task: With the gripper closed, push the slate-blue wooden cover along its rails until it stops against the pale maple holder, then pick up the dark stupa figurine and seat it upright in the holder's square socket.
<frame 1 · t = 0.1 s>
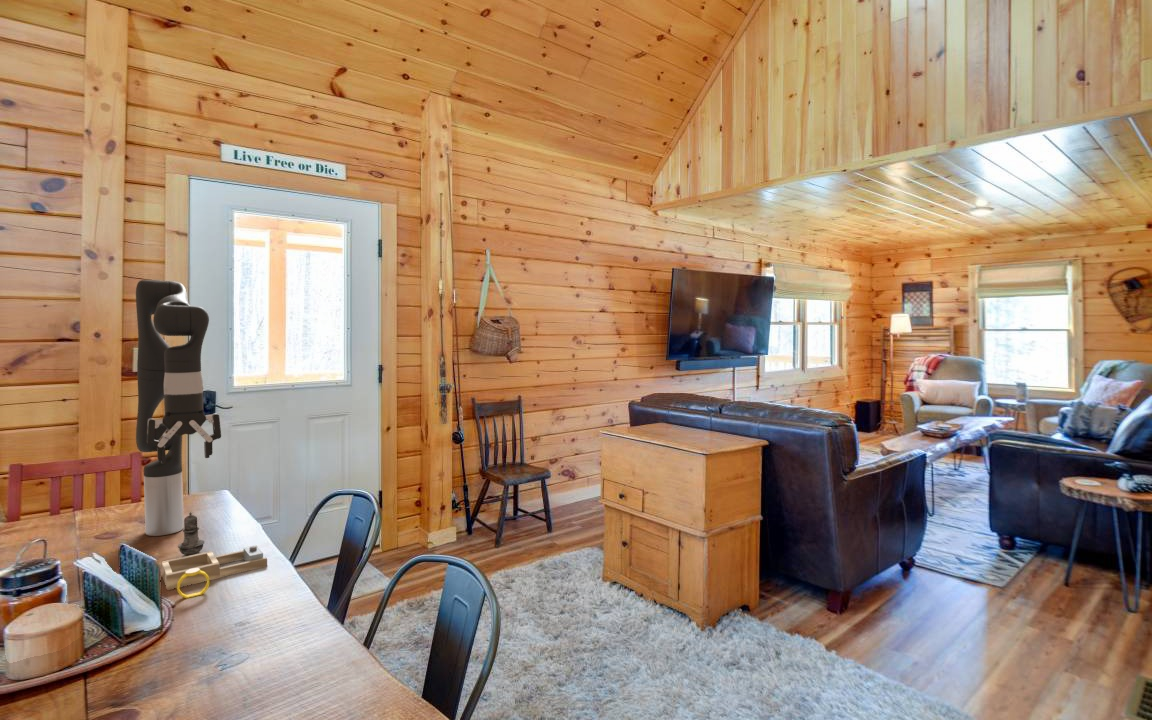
hand: (185, 460, 134), 29 cm above the table, tool pointing down, fingers open, 8 cm apart
cover: (253, 554, 148), point 2 cm above the table, slide at 0.0 cm
watch: (193, 596, 129), on the table
dark stupa figurine: (191, 557, 151), on the table
holder: (190, 576, 139), on the table
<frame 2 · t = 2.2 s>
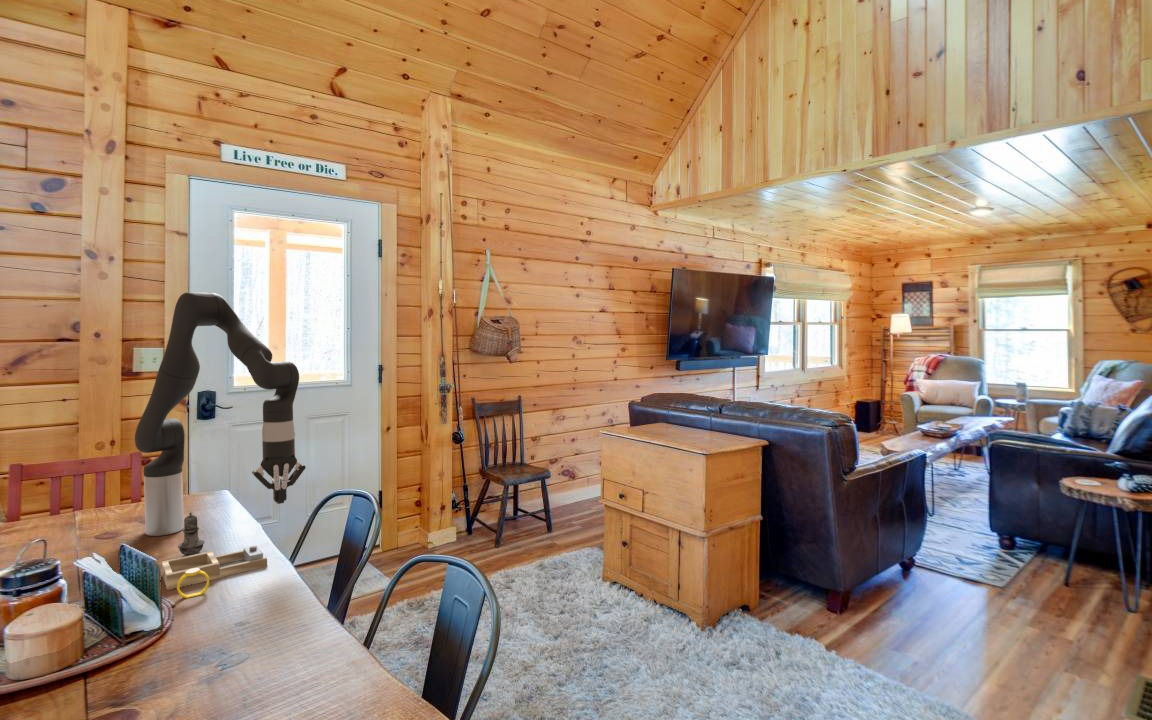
hand: (279, 502, 151), 14 cm above the table, tool pointing down, fingers closed
nothing on the table moved.
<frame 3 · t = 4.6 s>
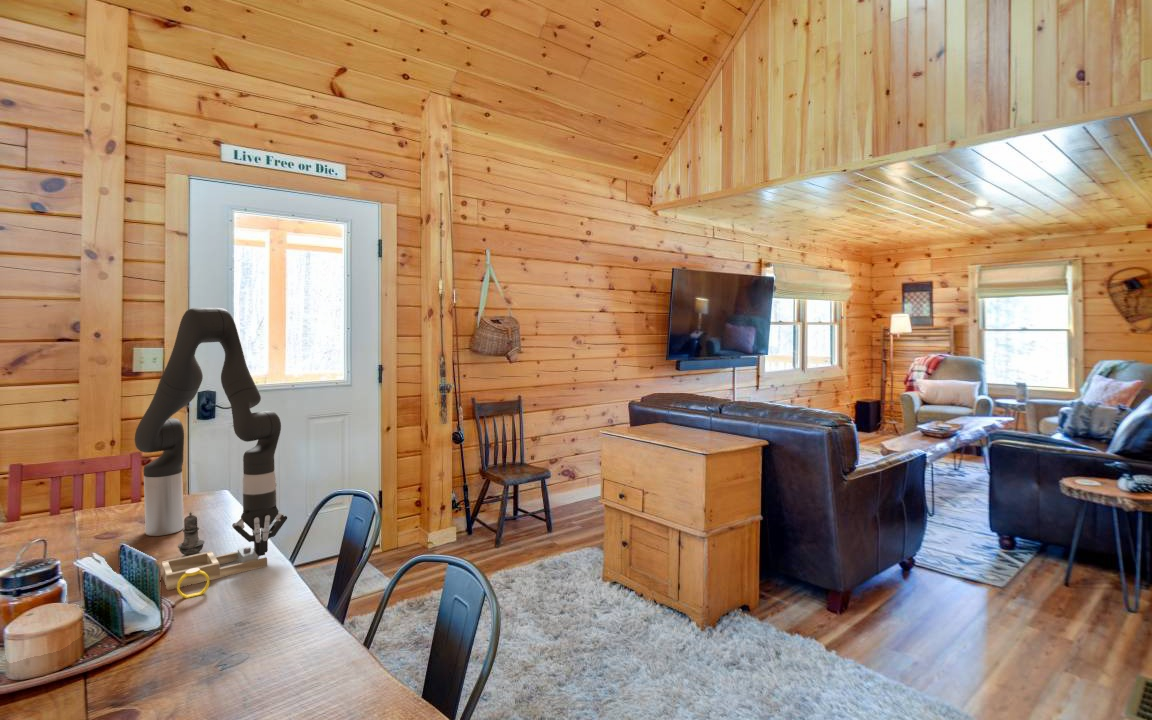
hand: (261, 554, 149), 1 cm above the table, tool pointing down, fingers closed
cover: (247, 555, 147), point 2 cm above the table, slide at 1.4 cm, touching gripper
everything else where it was.
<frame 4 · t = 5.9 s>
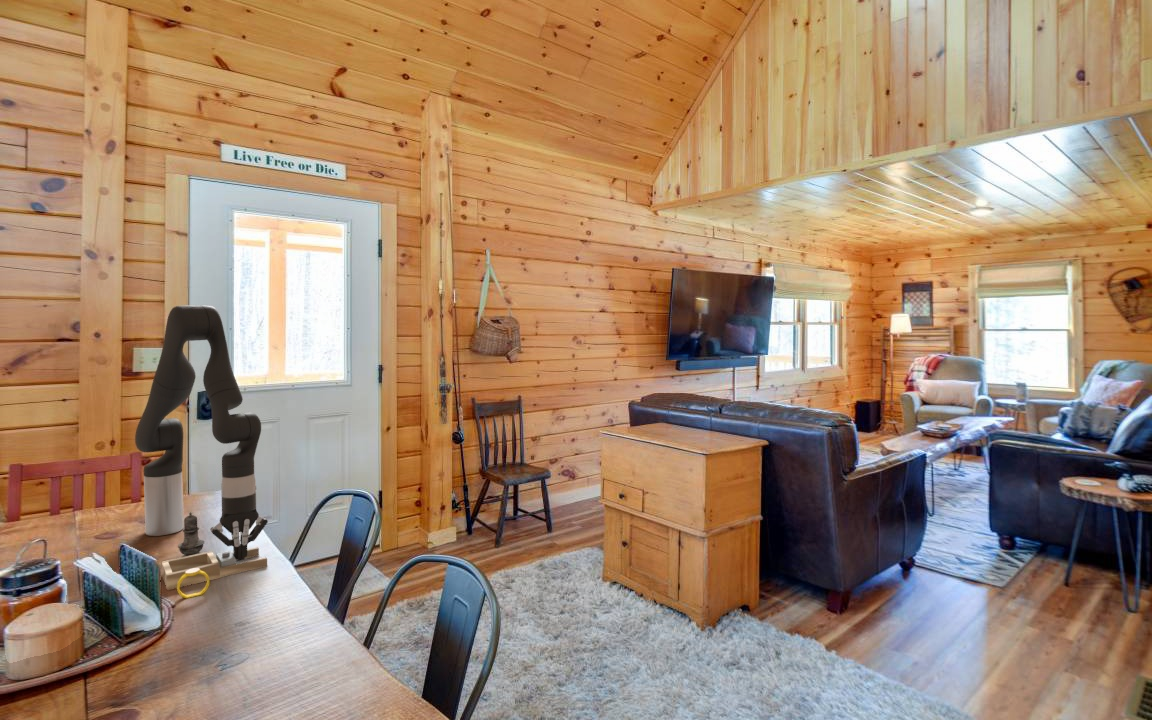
hand: (240, 559, 146), 1 cm above the table, tool pointing down, fingers closed
cover: (226, 560, 144), point 2 cm above the table, slide at 6.0 cm, touching gripper
everything else where it was.
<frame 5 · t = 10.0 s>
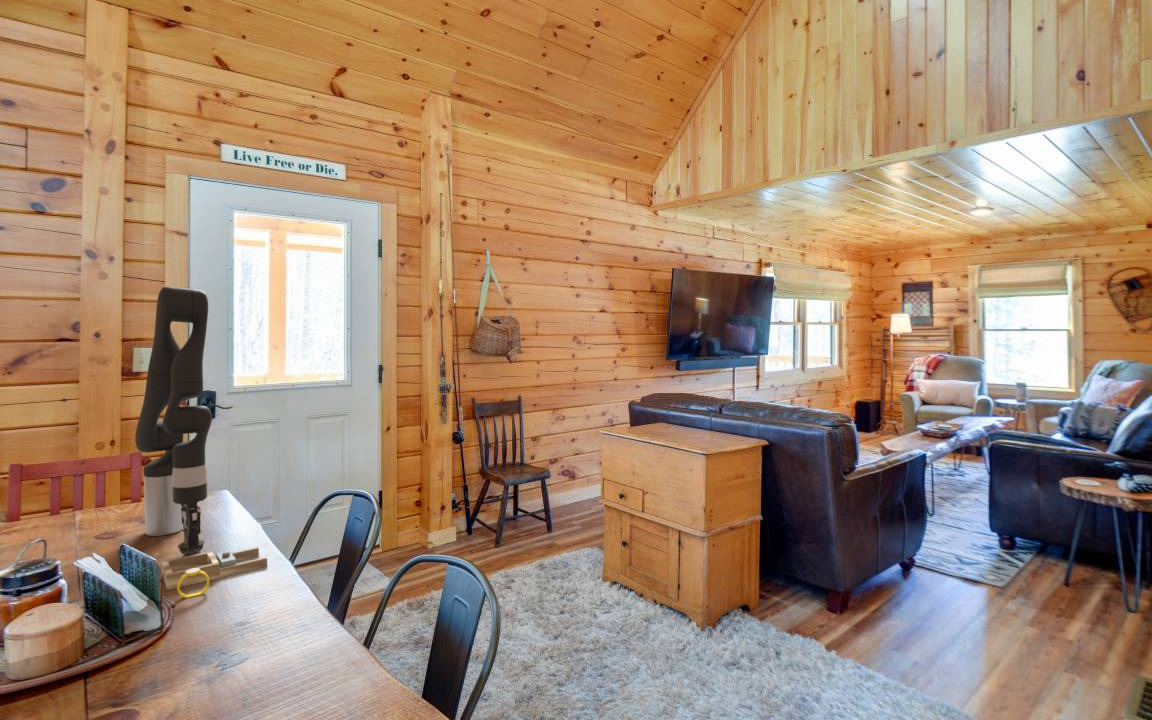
hand: (191, 545, 150), 3 cm above the table, tool pointing down, fingers closed on dark stupa figurine, 6 cm apart
cover: (226, 560, 144), point 2 cm above the table, slide at 6.1 cm
dark stupa figurine: (191, 557, 151), on the table, touching gripper
everything else where it was.
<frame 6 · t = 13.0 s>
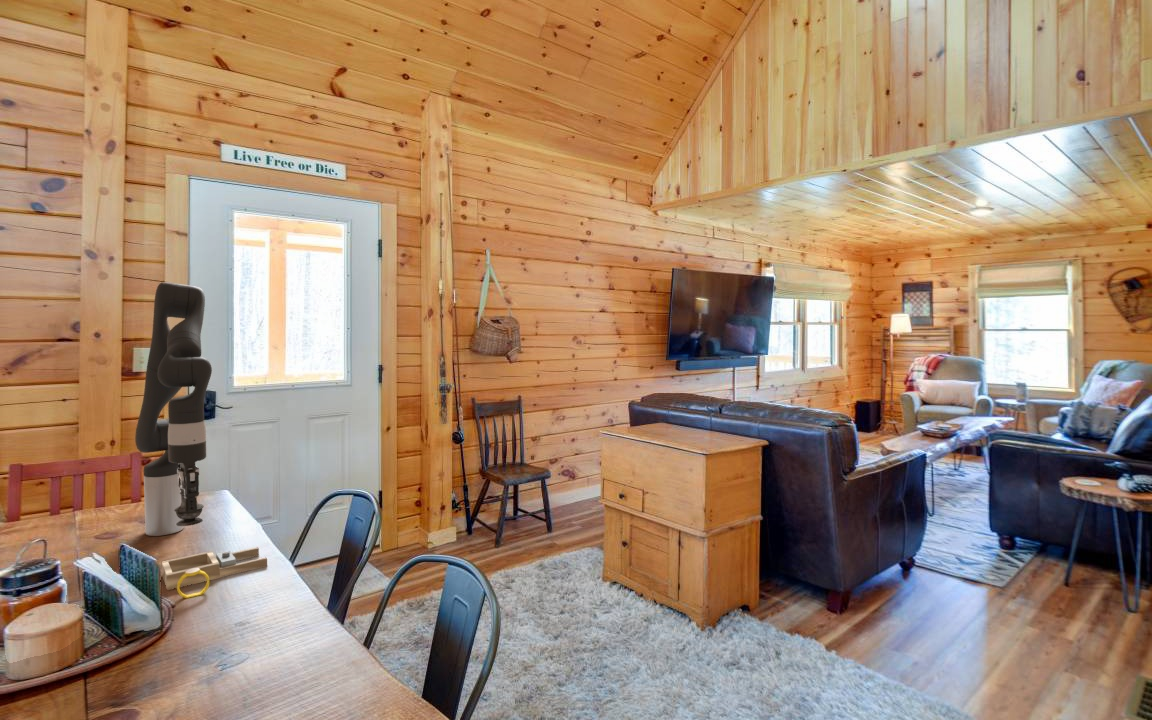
hand: (189, 509, 138), 16 cm above the table, tool pointing down, fingers closed on dark stupa figurine, 6 cm apart
dark stupa figurine: (189, 523, 138), point 13 cm above the table, touching gripper
everything else where it was.
when the fingers open (4 cm above the table, at t = 15.6 s): dark stupa figurine drops 1 cm, resting in holder.
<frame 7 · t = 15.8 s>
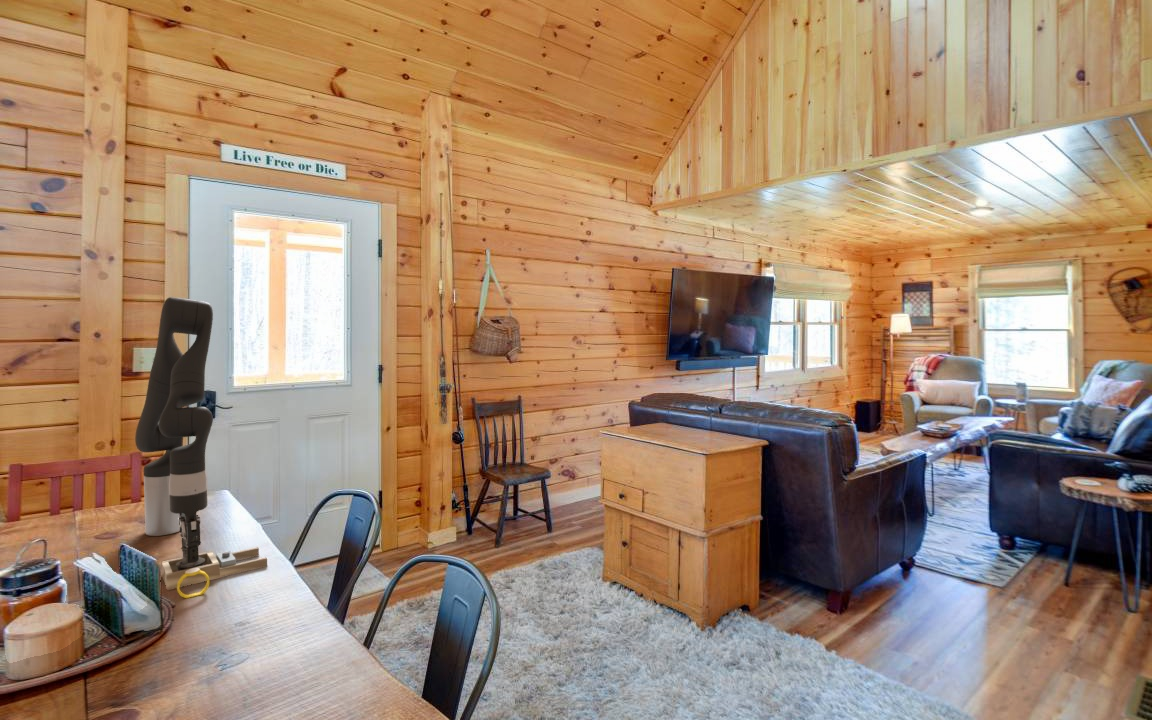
hand: (190, 556, 138), 5 cm above the table, tool pointing down, fingers open, 7 cm apart
dark stupa figurine: (191, 577, 139), resting in holder
everything else where it was.
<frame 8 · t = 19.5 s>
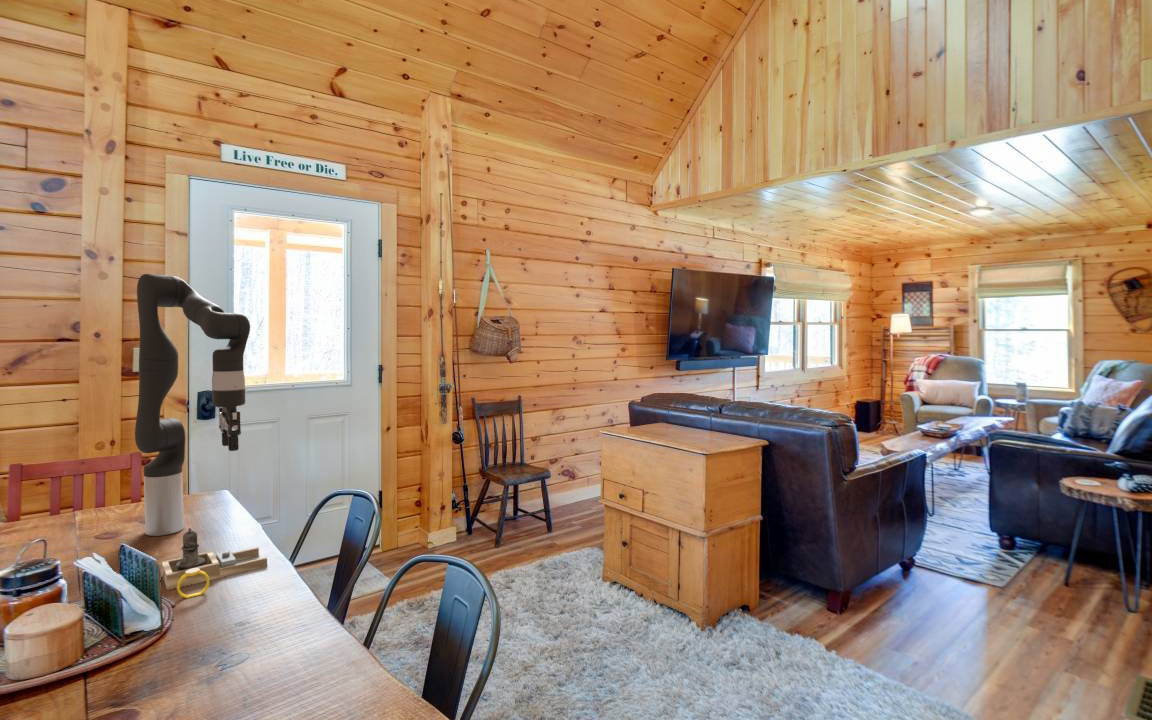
hand: (230, 448, 154), 28 cm above the table, tool pointing down, fingers open, 8 cm apart
nothing on the table moved.
at the end: dark stupa figurine 0.1 cm off-centre on the holder, point 0.0 cm above the holder's base; dark stupa figurine tilted 0°; cover slide at 6.1 cm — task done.
